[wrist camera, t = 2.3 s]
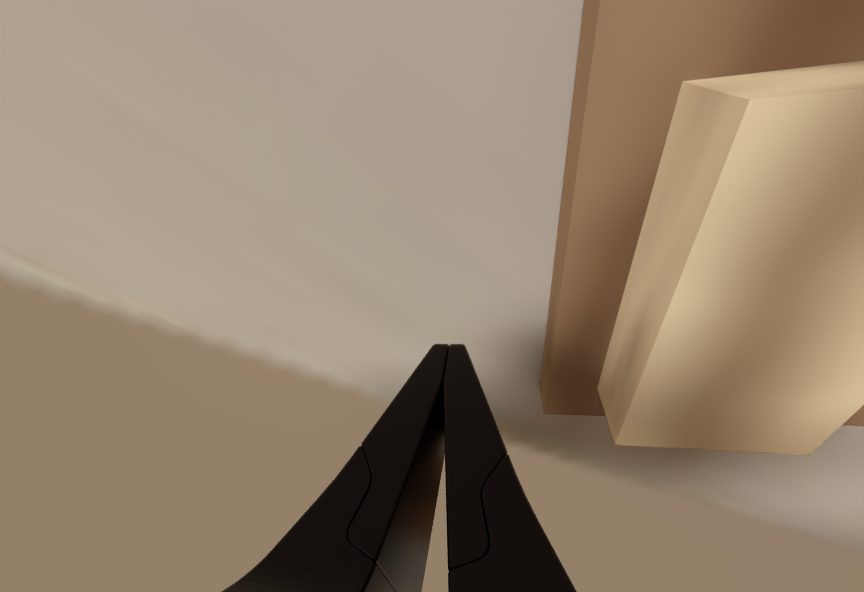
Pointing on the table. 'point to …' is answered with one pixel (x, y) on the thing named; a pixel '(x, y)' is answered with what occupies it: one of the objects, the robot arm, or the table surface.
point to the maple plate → (748, 270)
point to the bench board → (651, 146)
